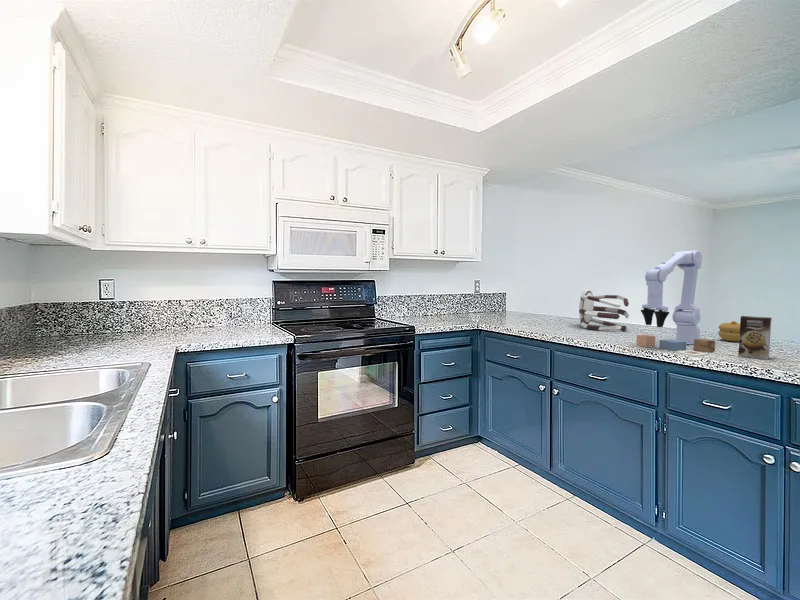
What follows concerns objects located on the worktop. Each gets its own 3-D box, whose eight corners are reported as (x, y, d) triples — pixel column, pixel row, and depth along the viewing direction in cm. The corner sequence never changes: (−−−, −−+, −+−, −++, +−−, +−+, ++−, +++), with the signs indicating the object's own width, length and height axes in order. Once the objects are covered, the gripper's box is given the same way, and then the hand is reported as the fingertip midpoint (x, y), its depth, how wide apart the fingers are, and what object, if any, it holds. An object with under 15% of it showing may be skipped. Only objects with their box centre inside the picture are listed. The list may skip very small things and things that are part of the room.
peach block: (644, 345, 188) (645, 334, 188) (654, 346, 183) (655, 336, 183) (636, 345, 187) (636, 335, 186) (646, 347, 182) (646, 336, 182)
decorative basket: (597, 323, 266) (641, 334, 233) (562, 325, 259) (602, 337, 226) (600, 287, 263) (644, 293, 229) (564, 288, 256) (605, 294, 223)
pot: (735, 343, 189) (736, 322, 189) (711, 339, 201) (712, 320, 200) (755, 342, 192) (756, 322, 191) (730, 338, 203) (731, 319, 203)
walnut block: (702, 350, 175) (702, 338, 175) (714, 352, 170) (715, 340, 170) (693, 350, 173) (694, 339, 173) (706, 353, 169) (706, 341, 168)
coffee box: (737, 356, 160) (739, 316, 159) (739, 354, 165) (741, 315, 164) (768, 359, 154) (770, 318, 153) (769, 357, 158) (771, 316, 158)
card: (689, 351, 172) (689, 350, 172) (708, 354, 164) (708, 353, 164) (675, 352, 169) (675, 351, 169) (694, 356, 162) (694, 354, 162)
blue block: (670, 347, 181) (671, 339, 181) (686, 350, 175) (686, 341, 174) (659, 348, 179) (659, 340, 179) (674, 351, 172) (674, 342, 172)
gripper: (636, 295, 186) (635, 324, 187) (657, 297, 172) (656, 328, 173) (650, 295, 187) (650, 323, 187) (673, 296, 172) (672, 328, 173)
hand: (654, 326), depth 180 cm, fingers open, 7 cm apart
